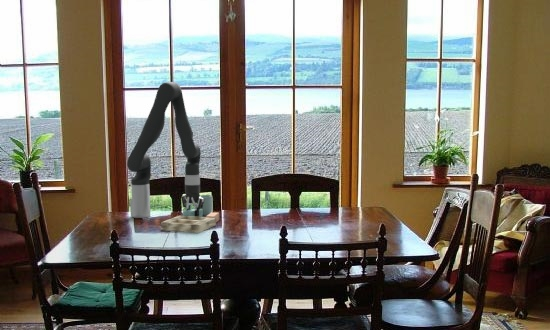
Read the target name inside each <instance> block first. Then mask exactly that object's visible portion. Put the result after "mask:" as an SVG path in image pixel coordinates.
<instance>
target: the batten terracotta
mask: <svg viewBox="0 0 550 330" xmlns="http://www.w3.org/2000/svg"><path fill="white" fill-rule="evenodd" d="M205 217H209V218H216V223H217V222H218V221H219V220H220V212H215V211H214V212H213V211H212V212H211V213H210V214H208V215H205Z"/></svg>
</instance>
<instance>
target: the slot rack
mask: <svg viewBox="0 0 550 330" xmlns="http://www.w3.org/2000/svg"><path fill="white" fill-rule="evenodd" d="M216 225H217V222H216V218H209V217H206V216H203V217H195V216H183V215H181V214H179V215H177V216H175V217H172V218H169V219H166V220H164V221H162V222H160V230H161V231H173V232H183V231H184V232H186V233H195V234H196V233H197V234H200V233H201V232H204V231H206V230H208V229H210V228H213V227H215V226H216Z"/></svg>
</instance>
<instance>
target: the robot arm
mask: <svg viewBox="0 0 550 330" xmlns="http://www.w3.org/2000/svg"><path fill="white" fill-rule="evenodd" d="M153 101H154V102H153V105H152V107H151V109H150V111H149V114H148V116H147V118H146V121H144V122H145V123H144V125H143V127H142V129H141V132H140V135H139V137H138V139H137V140H136V143H135V146H134V147H133V149H132V151H131V152H130V154H129V156H128V157H127V162H126V167H127V168H128V170H129V171H130V172H131V173H132V172H134V173H135V176H134V177H132V178H131V179H130V183H131V185H130V187H131V188H130V189H131V198H130V199H129V201H130V205H129V206H130V217H131V218H135V219H143V218H149V217H151V200H150V199H151V198H150V197H151V193H150V192H151V191H150V180H151V178H152V177H151V176H152V175H151V174H152V173H151V171H152V163H151V159H150V158H151V157H150V156H149V155H148V154H147V152H148V151H149V149H151V148H152V146H153V145H154V144H155V143H156V142H157V141H158V139H159V138H160V136H161V134H162V132H163V130H164V127H165V122H166V121H165V118H166V117H165V115H166V111H167V108H168V107H169V104H170V103H171V105H172V108H173V111H174V125H175V129H176V131H177V135H178V137H179V140H180V146H181V151H182V154H183V155H184V157H186V158H187V159H186V163H185V167H184V170H185V171H184V172H185V173H184V174H185V175H184V176H185V177H184V191H185V192H184V193H185V195H181V196H180V200H181V203H182V208H185V210H191V209H192V205H193V208H194V209H195V217H199V210H200V209H202V208H203V204H204V200H205V198H201V197H200V195H201V194H200V193H201V178H200V177H201V176H200V162H201V148H200V146H199V144H196V143H195V142H194V132H193V129H192V126H191V124H190V121H189V117H188V115H187V110H186V107H185V105H186V104H185V100H184V96H183V90H182V88H181V85H179V84H178V83H177V82H175V81H168V82H166V81H165V82H162V83H161V84H160V85H159V86H158V89H157V91H156V95H155V98H154V100H153Z"/></svg>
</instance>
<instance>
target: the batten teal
mask: <svg viewBox="0 0 550 330" xmlns="http://www.w3.org/2000/svg"><path fill="white" fill-rule="evenodd" d="M190 209H191V210H187V209H185V210H183V211H182V216H195V208H190ZM199 217H204V215H203V209H200V210H199Z"/></svg>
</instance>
